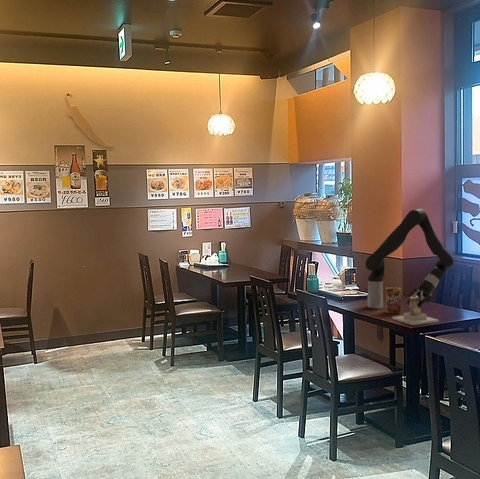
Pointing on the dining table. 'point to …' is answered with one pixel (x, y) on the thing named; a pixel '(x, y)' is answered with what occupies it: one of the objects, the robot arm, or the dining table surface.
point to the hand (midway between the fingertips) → (413, 305)
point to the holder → (415, 319)
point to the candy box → (393, 300)
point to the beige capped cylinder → (415, 306)
